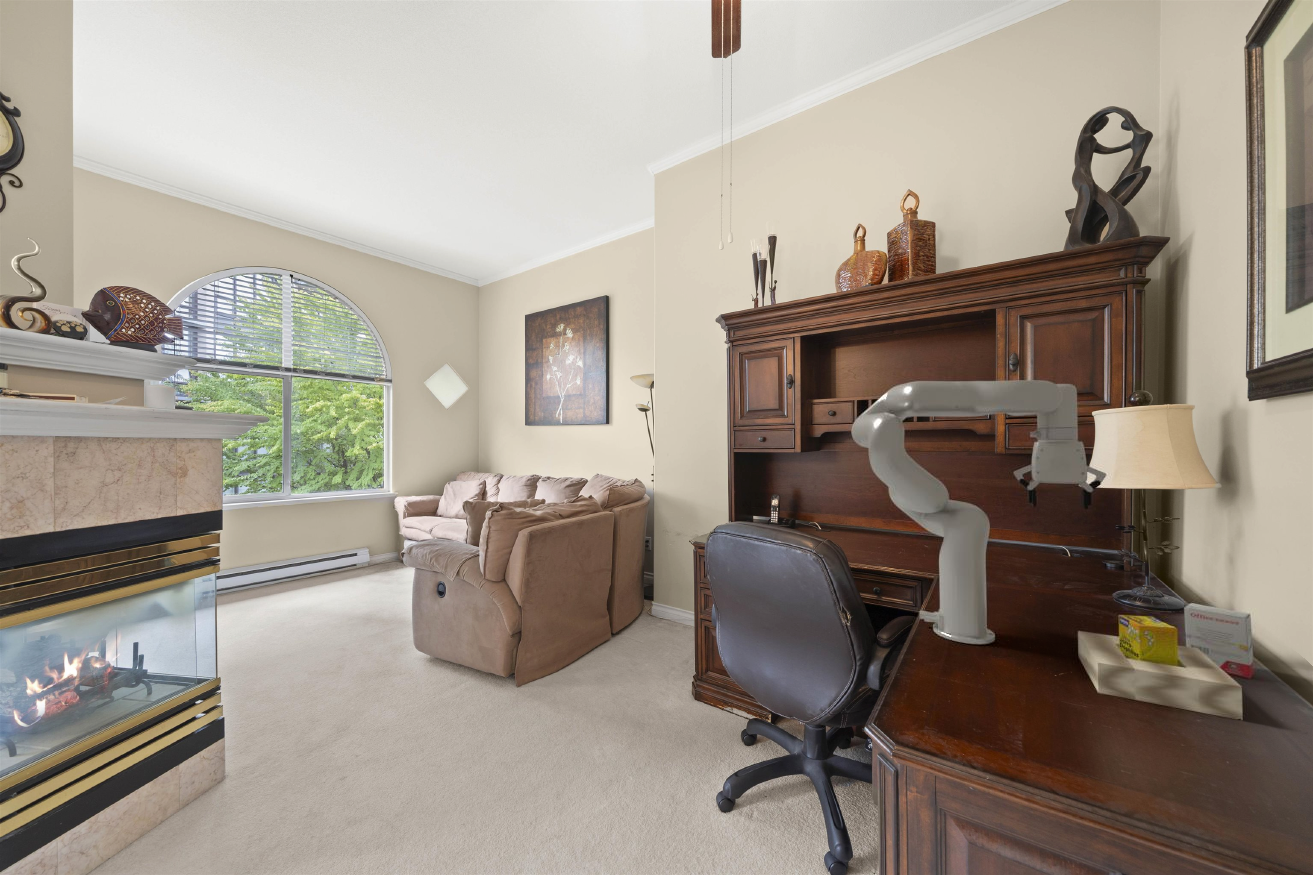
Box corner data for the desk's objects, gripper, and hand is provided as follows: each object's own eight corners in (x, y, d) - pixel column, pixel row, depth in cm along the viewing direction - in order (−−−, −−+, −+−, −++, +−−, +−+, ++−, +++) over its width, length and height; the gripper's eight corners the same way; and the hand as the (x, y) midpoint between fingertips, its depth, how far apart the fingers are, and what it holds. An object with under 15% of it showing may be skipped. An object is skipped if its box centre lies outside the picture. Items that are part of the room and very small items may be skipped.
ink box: (1254, 673, 98) (1253, 613, 98) (1250, 680, 95) (1248, 618, 96) (1190, 657, 106) (1189, 601, 106) (1185, 663, 103) (1183, 606, 103)
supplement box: (1118, 670, 98) (1117, 614, 98) (1155, 673, 97) (1153, 616, 97) (1140, 684, 92) (1138, 624, 92) (1179, 687, 91) (1178, 627, 91)
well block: (1098, 692, 91) (1097, 662, 91) (1078, 656, 106) (1078, 630, 107) (1242, 720, 82) (1241, 686, 82) (1198, 676, 97) (1197, 648, 97)
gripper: (1014, 436, 121) (1015, 506, 121) (1109, 435, 112) (1110, 511, 112) (1011, 436, 127) (1013, 503, 127) (1101, 435, 118) (1102, 507, 118)
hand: (1058, 507), depth 119 cm, fingers open, 9 cm apart
